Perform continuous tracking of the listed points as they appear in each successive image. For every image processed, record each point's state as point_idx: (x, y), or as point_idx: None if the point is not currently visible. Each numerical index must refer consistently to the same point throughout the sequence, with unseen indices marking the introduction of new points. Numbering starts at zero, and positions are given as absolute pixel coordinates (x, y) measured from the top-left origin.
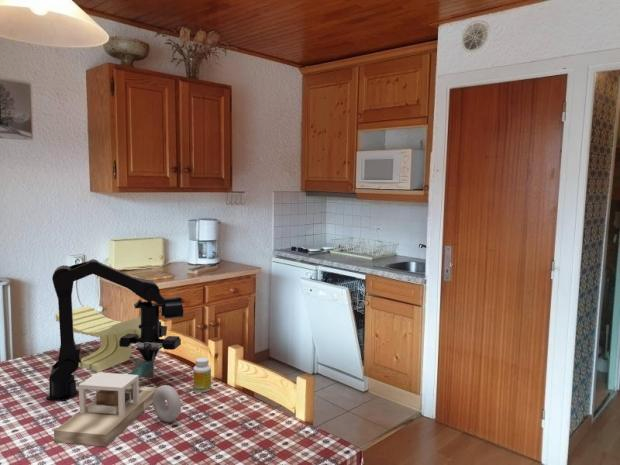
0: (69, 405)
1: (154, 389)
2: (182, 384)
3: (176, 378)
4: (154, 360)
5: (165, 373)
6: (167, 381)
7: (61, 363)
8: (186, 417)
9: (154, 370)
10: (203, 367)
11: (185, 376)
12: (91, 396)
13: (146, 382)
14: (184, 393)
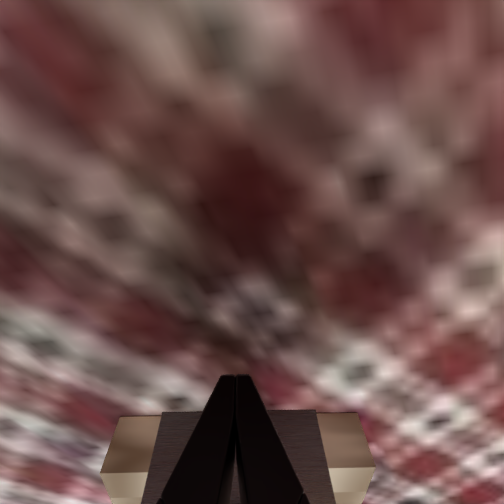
0: (17, 499)
1: (360, 481)
2: (474, 260)
3: (413, 155)
4: (278, 437)
5: (268, 33)
6: (349, 227)
7: None
8: (500, 497)
9: (327, 466)
10: None
11: (498, 90)
12: (25, 444)
13: (195, 267)
14: (491, 363)
